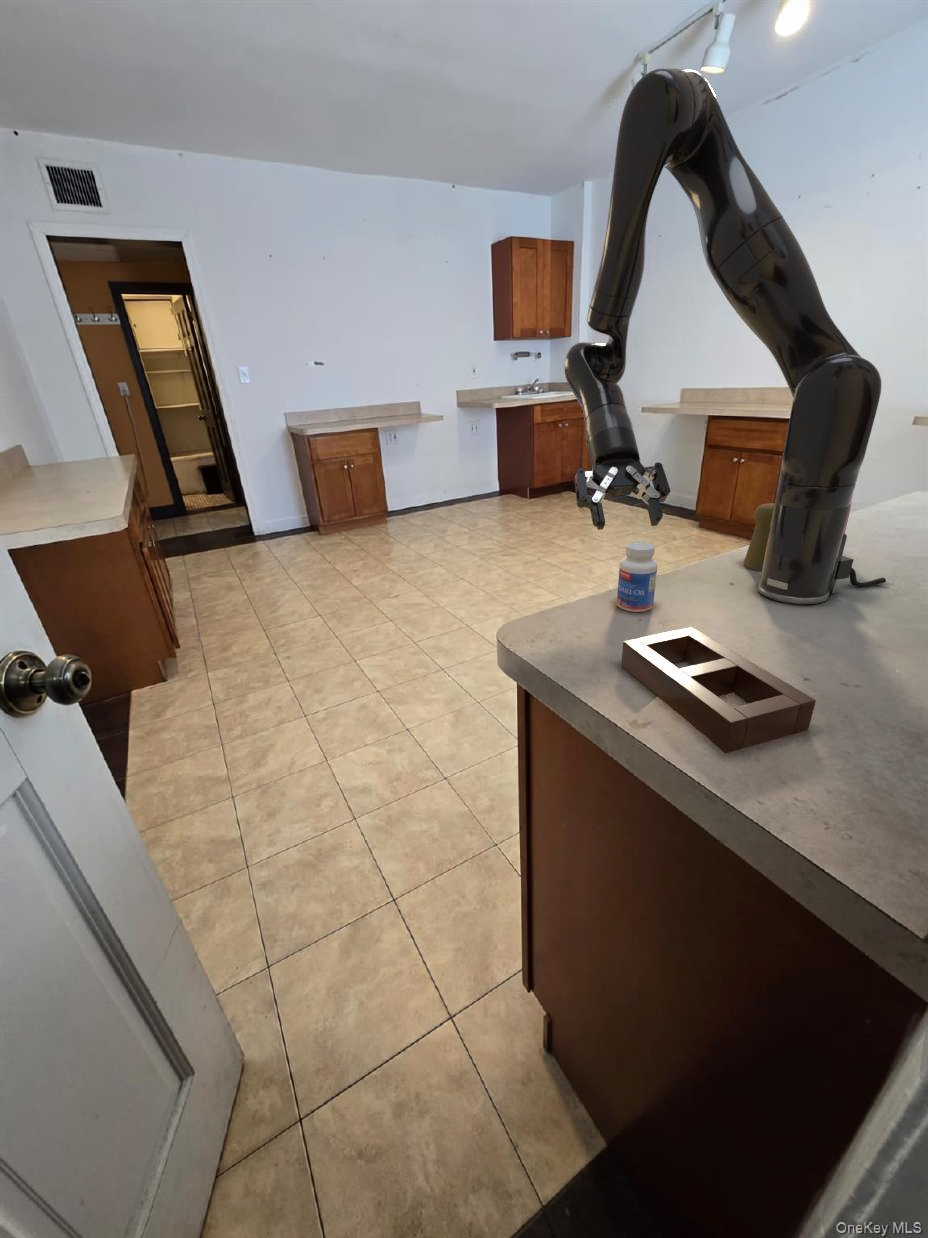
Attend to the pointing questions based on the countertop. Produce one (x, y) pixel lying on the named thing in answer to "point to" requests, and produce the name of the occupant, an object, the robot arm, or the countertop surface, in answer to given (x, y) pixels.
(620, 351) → the robot arm
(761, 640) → the countertop surface
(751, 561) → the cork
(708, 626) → the countertop surface
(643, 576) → the pill bottle
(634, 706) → the countertop surface
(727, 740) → the socket block
